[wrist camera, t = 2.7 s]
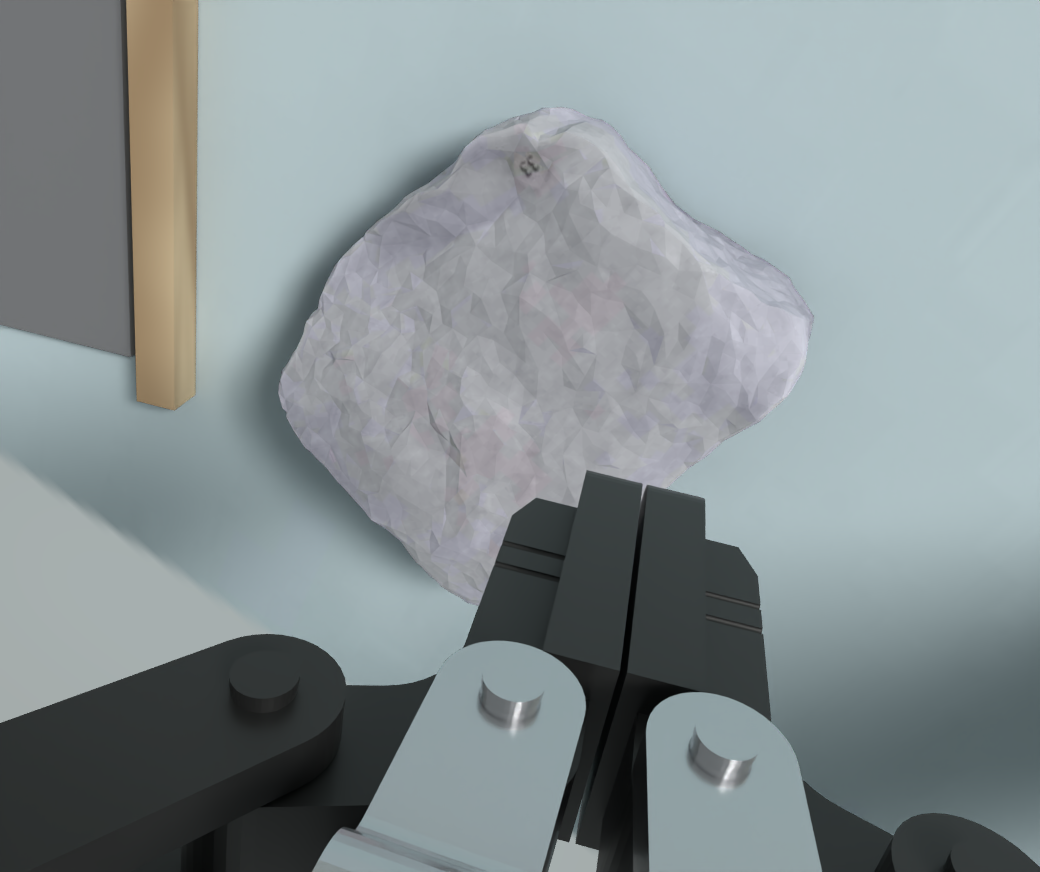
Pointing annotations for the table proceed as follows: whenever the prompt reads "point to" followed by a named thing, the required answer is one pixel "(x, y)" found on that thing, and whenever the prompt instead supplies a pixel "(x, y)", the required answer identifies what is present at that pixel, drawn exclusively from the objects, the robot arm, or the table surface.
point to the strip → (164, 195)
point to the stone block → (533, 342)
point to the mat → (66, 172)
